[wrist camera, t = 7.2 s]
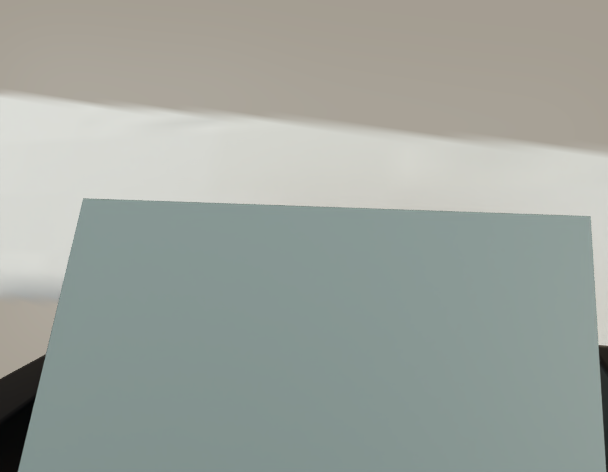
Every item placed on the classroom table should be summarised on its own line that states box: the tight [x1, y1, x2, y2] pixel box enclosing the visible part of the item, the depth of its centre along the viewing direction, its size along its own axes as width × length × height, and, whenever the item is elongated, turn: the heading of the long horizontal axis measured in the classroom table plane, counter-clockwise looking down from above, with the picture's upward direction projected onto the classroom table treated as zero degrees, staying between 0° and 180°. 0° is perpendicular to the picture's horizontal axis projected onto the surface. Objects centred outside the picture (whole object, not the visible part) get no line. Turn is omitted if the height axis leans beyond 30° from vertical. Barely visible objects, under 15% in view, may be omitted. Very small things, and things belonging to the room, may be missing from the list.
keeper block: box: [18, 198, 606, 472], centre depth 10 cm, size 5×5×12 cm
